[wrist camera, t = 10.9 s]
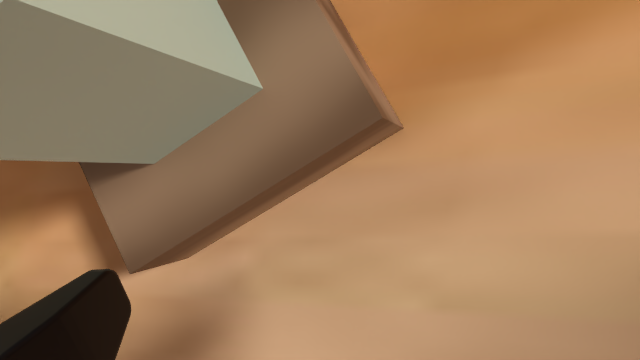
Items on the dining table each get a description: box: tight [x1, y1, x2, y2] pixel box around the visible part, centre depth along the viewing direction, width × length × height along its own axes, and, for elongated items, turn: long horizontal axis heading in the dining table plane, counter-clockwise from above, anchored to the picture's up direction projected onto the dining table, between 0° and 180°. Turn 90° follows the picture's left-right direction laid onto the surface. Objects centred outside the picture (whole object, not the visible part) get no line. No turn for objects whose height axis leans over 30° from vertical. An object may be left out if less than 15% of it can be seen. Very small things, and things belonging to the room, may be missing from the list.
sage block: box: [0, 0, 263, 164], centre depth 15 cm, size 6×6×10 cm
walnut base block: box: [79, 0, 403, 274], centre depth 21 cm, size 12×12×4 cm
